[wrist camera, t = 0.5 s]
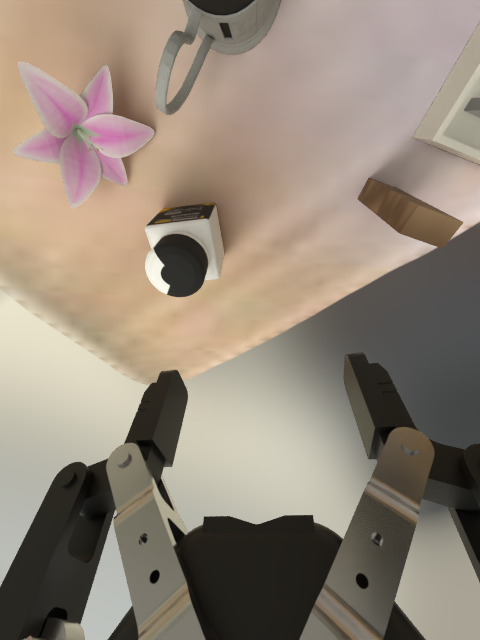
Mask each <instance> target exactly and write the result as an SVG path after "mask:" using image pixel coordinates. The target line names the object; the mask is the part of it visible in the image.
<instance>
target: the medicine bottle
mask: <svg viewBox="0 0 480 640" xmlns="http://www.w3.org/2000/svg"><path fill="white" fill-rule="evenodd" d="M145 231H146V234H147V237H148V240H149V243H150V246H151V249H152V250H151V251H150V252H149V254H148V255H147V258H146V261H145V270H146V274H147V276H148V278H149V280H150V282H151V283H152V284H153V285H154V286H155V287H156V288H157V289H158V290H160V291H161V292H163V293H165V294H167V295H170V296H174V297H186V296H189V295H192V294H194V293H195V292H197V291H198V290H199V289H200V288H201V286H202V285H203V282H204V280H213V279H218V278H219V277H220V273H221V268H222V264H223V259H224V248H223V242H222V237H221V231H220V225H219V219H218V213H217V207H216V204H215V203H208V204H200V205H192V206H184V207H176V208H169V209H162V210H161V211H160V212H159V213H158V214H157V215H156V216H155V217H154V218H153V219H152V220H151V221H150V223H149V224H148V225H147V226H146V227H145Z"/></svg>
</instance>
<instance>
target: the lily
mask: <svg viewBox="0 0 480 640" xmlns="http://www.w3.org/2000/svg"><path fill="white" fill-rule="evenodd" d="M18 69H19V72H20V75H21V78H22V81H23V83H24V85H25V87H26V89H27V92H28V94H29V96H30V98H31V100H32V102H33V104H34V106H35V108H36V110H37V112H38V114H39V116H40V118H41V120H42V122H43V124H44V126H45V127H46V128H45V129H43V130H41V131H40V132H38V133H36V134H34V135H33V136H31V137H30V138H28V139H27V140H25V141H24V142H22V143H21V144H19V145H18V146H17V147H16V148H15V149H14V150H13V153H14V154H15V155H17V156H20V157H23V158H26V159H30V160H35V161H40V162H46V163H60V169H61V175H62V179H63V183H64V188H65V192H66V196H67V200H68V203H69V205H70V207H72V208H76V207H78V206H79V205H81V204H82V203H83V202H84V201H85V200H86V199H87V198H88V197H89V196H90V194H91V193H92V192H93V191H94V189H95V188H96V186H97V185H98V183H99V181H100V178H101V177H103V178H105V179H106V180H109V181H111V182H113V183H116V184H119V185H123V186H125V185H127V176H126V172H125V168H124V165H123V162H122V160H121V158H123V157H126V156H129V155H131V154H132V153H134V152H136V151H137V150H139V149H140V148H141V147H143V146H144V145H145V144H146V143H147V142H149V141H150V139H151V138H152V137H153V136H154V133H155V132H154V130H153V129H152V128H150V127H149V126H146V125H144V124H141V123H138V122H136V121H133V120H130V119H127V118H124V117H121V116H118V115H113V114H112V113H113V91H112V82H111V76H110V71H109V68H108V66H107V65H104V66H102V68H101V69H100V70H99V71H98V72H97V73H96V74H95V76H94V77H93V78H92V79H91V81H90V82H89V84H88V85H87V86H86V88H85V89H84V91H83V92H82V94H81V95H80V96H79V95H78V94H76V93H75V92H74V91H72V90H71V89H69V88H68V87H66V86H65V85H63V84H62V83H60V82H59V81H57V80H56V79H54V78H53V77H51V76H50V75H48V74H46V73H45V72H43V71H42V70H40V69H38V68H37V67H35V66H33V65H31V64H28V63H26V62H19V67H18Z"/></svg>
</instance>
